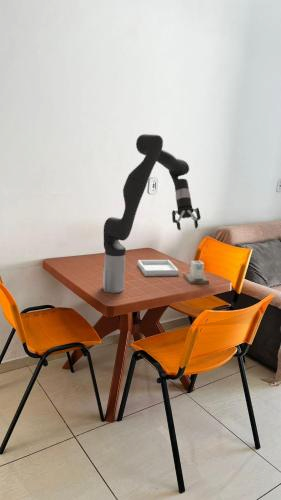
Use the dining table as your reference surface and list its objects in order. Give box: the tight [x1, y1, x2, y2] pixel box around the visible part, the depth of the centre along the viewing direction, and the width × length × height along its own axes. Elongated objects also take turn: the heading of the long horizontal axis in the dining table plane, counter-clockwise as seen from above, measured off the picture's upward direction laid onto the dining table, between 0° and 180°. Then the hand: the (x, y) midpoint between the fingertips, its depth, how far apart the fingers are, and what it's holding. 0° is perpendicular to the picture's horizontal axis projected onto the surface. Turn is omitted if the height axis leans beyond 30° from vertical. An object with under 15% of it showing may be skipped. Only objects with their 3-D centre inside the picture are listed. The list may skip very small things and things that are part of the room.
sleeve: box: [189, 260, 205, 279], centre depth 193 cm, size 5×6×8 cm
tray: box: [137, 259, 180, 277], centre depth 206 cm, size 18×18×3 cm
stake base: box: [182, 273, 210, 285], centre depth 194 cm, size 10×10×6 cm
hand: (188, 229), depth 195 cm, fingers open, 8 cm apart
